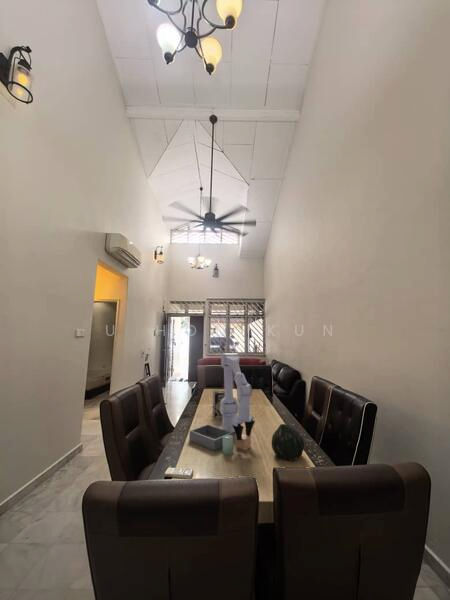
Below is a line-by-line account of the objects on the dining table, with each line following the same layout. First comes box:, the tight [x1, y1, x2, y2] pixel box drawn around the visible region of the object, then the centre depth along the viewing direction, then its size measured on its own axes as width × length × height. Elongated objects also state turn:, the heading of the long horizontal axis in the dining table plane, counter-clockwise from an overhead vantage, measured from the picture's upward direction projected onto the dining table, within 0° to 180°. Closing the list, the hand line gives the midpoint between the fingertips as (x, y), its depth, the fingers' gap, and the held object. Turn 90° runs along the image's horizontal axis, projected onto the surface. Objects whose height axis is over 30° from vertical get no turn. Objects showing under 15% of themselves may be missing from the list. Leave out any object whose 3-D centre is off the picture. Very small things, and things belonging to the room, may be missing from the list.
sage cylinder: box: [221, 434, 234, 456], centre depth 124 cm, size 5×5×7 cm
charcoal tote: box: [189, 424, 233, 452], centre depth 136 cm, size 18×14×5 cm
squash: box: [271, 423, 305, 461], centre depth 122 cm, size 14×15×15 cm
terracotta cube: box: [236, 433, 252, 451], centre depth 130 cm, size 5×5×5 cm
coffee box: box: [211, 390, 229, 420], centre depth 176 cm, size 9×6×16 cm
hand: (243, 437), depth 131 cm, fingers open, 7 cm apart
